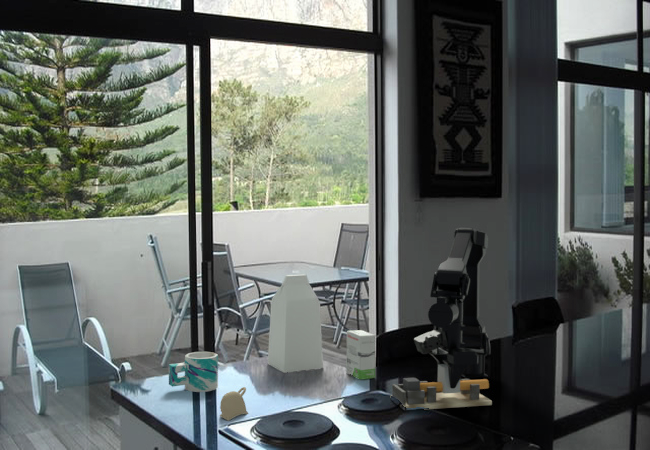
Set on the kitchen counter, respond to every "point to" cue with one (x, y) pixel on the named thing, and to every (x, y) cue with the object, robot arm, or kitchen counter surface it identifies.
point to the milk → (295, 327)
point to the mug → (196, 372)
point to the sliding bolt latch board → (440, 397)
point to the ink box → (360, 354)
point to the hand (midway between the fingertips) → (448, 385)
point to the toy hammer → (442, 383)
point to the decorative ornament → (233, 404)
